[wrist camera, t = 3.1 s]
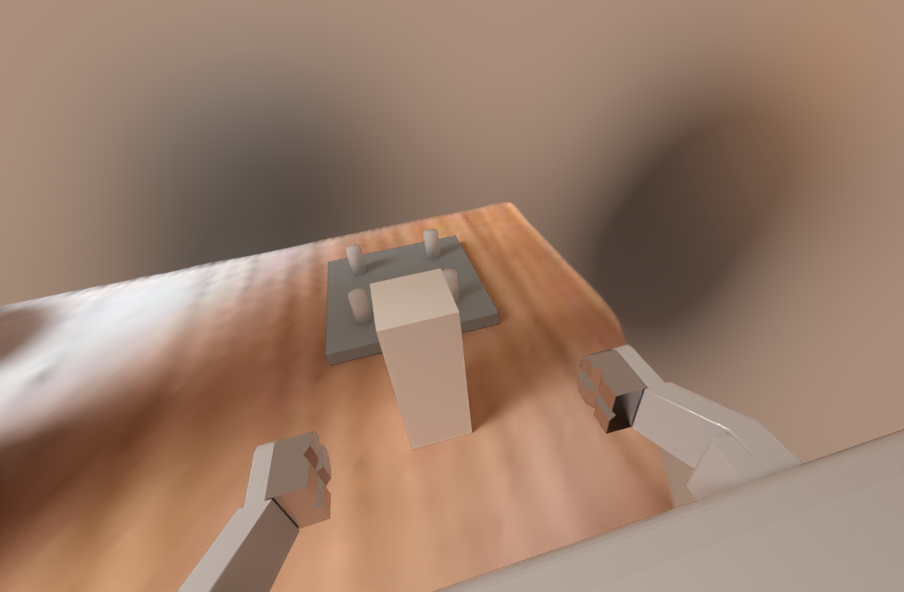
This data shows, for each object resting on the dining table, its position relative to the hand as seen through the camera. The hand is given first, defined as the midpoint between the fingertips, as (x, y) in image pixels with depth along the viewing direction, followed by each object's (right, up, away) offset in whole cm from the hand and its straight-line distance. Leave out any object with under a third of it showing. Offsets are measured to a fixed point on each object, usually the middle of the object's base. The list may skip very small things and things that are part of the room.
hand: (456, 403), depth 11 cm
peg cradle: (-6, +3, +35) cm, 35 cm away
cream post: (-1, -7, +21) cm, 22 cm away
